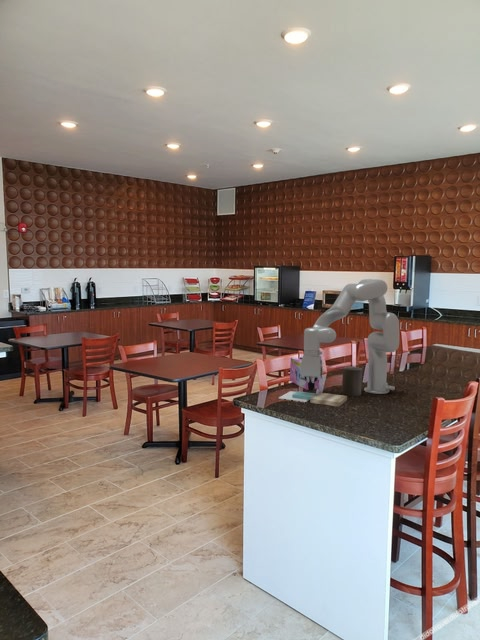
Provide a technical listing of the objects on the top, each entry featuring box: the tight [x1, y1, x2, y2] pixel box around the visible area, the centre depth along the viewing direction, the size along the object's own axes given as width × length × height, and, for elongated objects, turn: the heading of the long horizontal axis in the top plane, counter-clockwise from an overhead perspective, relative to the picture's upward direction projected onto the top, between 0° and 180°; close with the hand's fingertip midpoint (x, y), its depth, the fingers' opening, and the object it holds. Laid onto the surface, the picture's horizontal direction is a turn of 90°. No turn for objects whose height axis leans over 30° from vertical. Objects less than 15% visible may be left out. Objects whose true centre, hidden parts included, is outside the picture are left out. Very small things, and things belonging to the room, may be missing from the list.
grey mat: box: [278, 390, 310, 403], centre depth 242 cm, size 14×16×1 cm
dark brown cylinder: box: [341, 365, 363, 397], centre depth 249 cm, size 10×10×15 cm
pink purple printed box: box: [289, 356, 320, 391], centre depth 270 cm, size 24×8×14 cm, turn 17°
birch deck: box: [309, 392, 348, 407], centre depth 234 cm, size 14×14×2 cm
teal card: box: [292, 391, 317, 401], centre depth 239 cm, size 10×8×2 cm
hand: (311, 390), depth 239 cm, fingers closed
